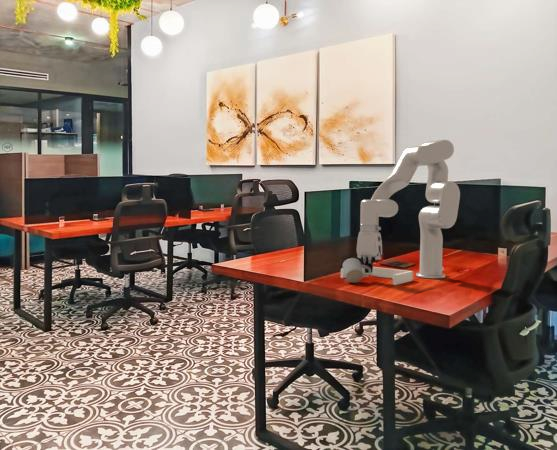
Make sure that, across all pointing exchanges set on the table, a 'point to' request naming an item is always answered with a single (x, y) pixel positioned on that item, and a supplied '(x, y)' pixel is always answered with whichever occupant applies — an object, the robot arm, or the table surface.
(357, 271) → the ceramic mug
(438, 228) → the robot arm
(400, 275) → the white u-shaped bracket
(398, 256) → the table surface
